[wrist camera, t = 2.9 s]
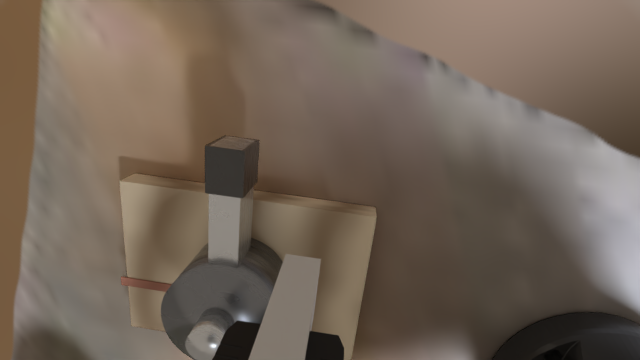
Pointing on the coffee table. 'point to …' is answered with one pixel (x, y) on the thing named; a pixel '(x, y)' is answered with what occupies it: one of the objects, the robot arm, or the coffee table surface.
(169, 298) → the saucepan with lid
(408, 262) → the coffee table surface
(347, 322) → the wooden cutting board
